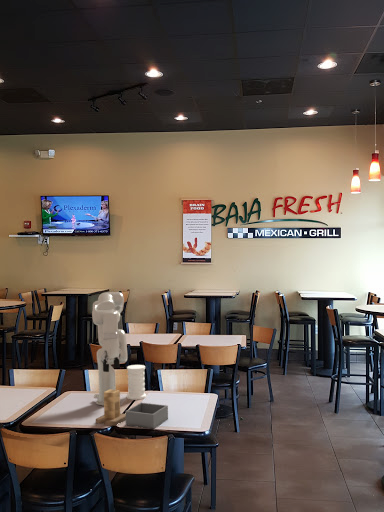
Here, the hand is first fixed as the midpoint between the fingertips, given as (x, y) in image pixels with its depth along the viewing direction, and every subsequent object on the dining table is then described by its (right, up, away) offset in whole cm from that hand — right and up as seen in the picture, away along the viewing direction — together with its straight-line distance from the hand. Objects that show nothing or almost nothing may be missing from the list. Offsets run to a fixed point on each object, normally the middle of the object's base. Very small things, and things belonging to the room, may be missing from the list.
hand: (111, 369), depth 250 cm
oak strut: (0, -24, 0) cm, 24 cm away
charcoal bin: (+19, -26, -3) cm, 32 cm away
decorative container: (+8, -26, +43) cm, 51 cm away
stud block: (0, -26, 0) cm, 26 cm away
